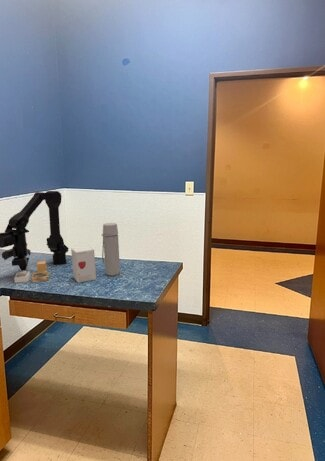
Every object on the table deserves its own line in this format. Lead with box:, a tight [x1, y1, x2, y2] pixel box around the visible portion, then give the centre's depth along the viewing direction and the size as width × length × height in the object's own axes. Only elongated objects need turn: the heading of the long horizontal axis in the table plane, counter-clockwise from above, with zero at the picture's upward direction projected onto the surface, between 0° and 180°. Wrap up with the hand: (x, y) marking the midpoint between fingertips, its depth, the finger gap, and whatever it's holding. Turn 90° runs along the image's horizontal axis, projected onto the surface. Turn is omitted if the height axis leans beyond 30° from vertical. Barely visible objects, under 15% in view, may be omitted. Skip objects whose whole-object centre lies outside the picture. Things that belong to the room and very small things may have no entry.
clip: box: [13, 271, 31, 284], centre depth 160 cm, size 6×8×2 cm
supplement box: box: [70, 245, 97, 284], centre depth 157 cm, size 9×9×15 cm
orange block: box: [36, 260, 48, 273], centre depth 169 cm, size 4×4×5 cm
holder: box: [30, 270, 50, 284], centre depth 160 cm, size 8×8×2 cm
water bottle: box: [101, 222, 121, 276], centre depth 162 cm, size 9×8×25 cm
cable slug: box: [18, 269, 28, 277], centre depth 160 cm, size 3×5×4 cm, turn 16°
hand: (23, 273), depth 164 cm, fingers closed
